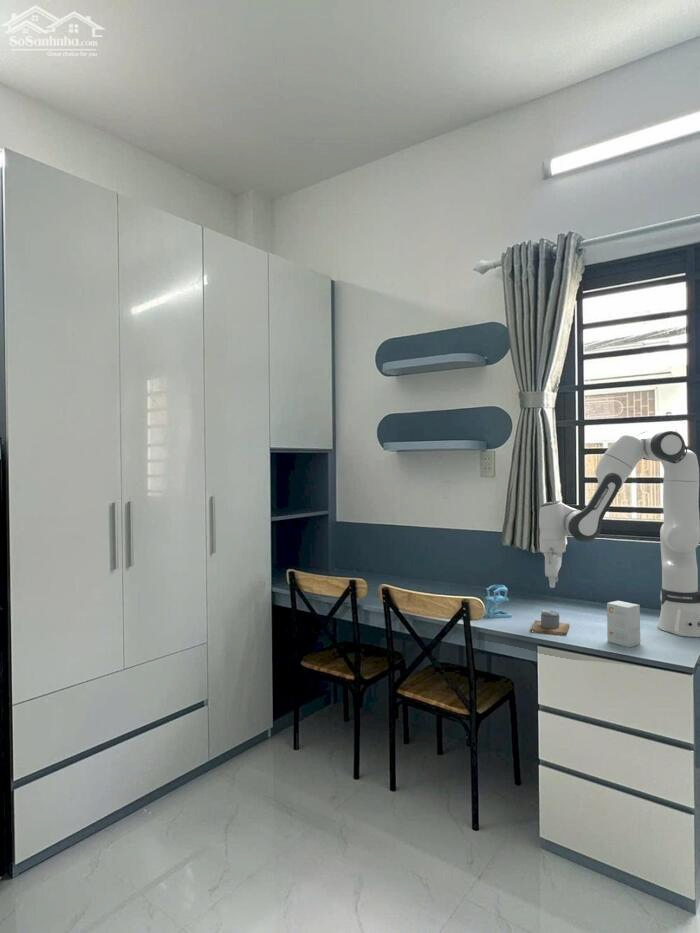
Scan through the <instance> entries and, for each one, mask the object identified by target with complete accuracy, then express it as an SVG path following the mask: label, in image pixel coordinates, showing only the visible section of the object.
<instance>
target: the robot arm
mask: <svg viewBox="0 0 700 933" xmlns="http://www.w3.org/2000/svg"><path fill="white" fill-rule="evenodd" d="M641 460H645V461H653V462H660V463H661V464H662V467H663V484H662V488H663V489H662V508H663V509H662V512H663V523H662V524H661V526H660V530H659V536H660V537H659V538H660V539H659V540H660V553H661V554H660V556H661V582H662V583H661V588H660V603H661V605H660V606H661V607H660V615H659V619H658V622H657V625H656V627H657V628H658V629H660V630H661V631H664V632H668V633H672V634H675V635H677V636H680V637H693V638H700V590H699V589H698V588H699V585H698V584H699V583H698V582H699V581H698V578H699V577H698V576H699V574H698V573H699V572H698V569H699V568H698V562H697V555H696V553H697V552H696V548H697V547H698V546H699V545H700V507H699V505H700V504H699V501H700V500H699V498H700V494H699V493H700V466H699V461H698V456H697V454H696V453H695V452H694V451H692V450H690V449H688V447H687V446H686V443H685V439H684V437H683V436H682V435H681V434H680V433H679V432H678V431H675V430H673V429H662V428H661V429H659V428H658V429H657V428H656V429H653V430H647V431H644V432H641V433H640V434H638V435H636V434H633V433H621V434H620V435H618V437H617V438H616V439H615V440H614V441H613V442H612V443H611V444H610V445H609V447H608V448H607V449H606V450H605V452H604V454H602V457H601V458H600V460H599V461H598V464H597V466H596V468H595V476H596V479H597V487H596V489H595V491H594V493H593V495H592V497H591V498H590V500H589V501H588V503H587V505H586V506H585V508H584V509H582V510H580V509H577V508H574V507H572V506H569V505H567V504H565V503H563V501H561V500H553V501H548V502H545V503H543V504H541V506H540V507H539V512H538V513H539V514H538V527H539V530H540V532H539V533H540V534H539V551H540V552H542V553H543V556H544V574H545V577H546V578H547V577H548V582H549V588H551V589H554V588H555V587H556V583H558V581H559V578H558V577H559V571H560V569H561V568H562V562H563V553H566V549H567V548H566V547H567V546H566V536H571V537H573V538H574V539H575V540H577V541H579V542H583V543H588V542H592V541H593V540H595V539H596V538H598V536H599V535H600V532H601V529H602V523H603V520H604V517H605V515H606V513H607V512H608V510H609V508H610V506H611V505H612V503H613V501H614V500H615V498H616V496H617V495H618V493H619V491H620V489H621V488H622V487H623V485H624V484H625V482H626V481H627V480H628V478H629V476H630V475H631V474H632V472H633V471H634V469H635V468H636V466H637V464H639V462H641Z"/></svg>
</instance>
